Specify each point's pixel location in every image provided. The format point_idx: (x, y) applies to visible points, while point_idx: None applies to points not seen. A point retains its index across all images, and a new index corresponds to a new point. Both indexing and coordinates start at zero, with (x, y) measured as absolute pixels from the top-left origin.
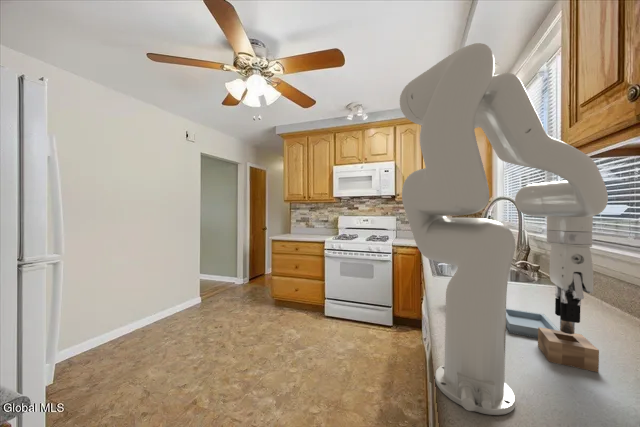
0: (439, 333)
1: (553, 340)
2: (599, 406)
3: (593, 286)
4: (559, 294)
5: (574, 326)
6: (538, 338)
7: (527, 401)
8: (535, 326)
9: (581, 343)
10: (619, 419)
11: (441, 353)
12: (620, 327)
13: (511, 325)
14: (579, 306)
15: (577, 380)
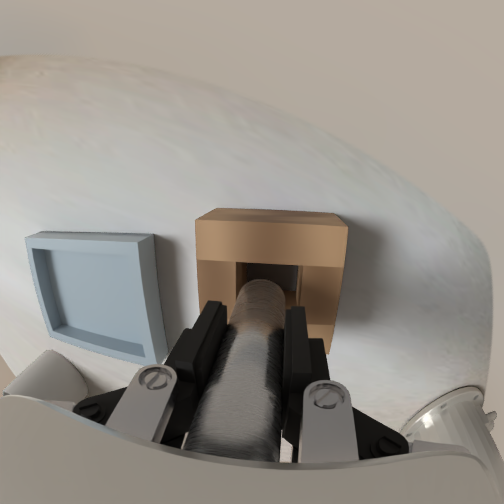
0: None
1: None
2: (468, 283)
3: (495, 498)
4: (185, 439)
5: (272, 297)
6: None
7: (462, 374)
8: (92, 276)
9: (305, 261)
10: (488, 268)
11: None
12: (16, 74)
13: (158, 362)
14: (309, 369)
15: (396, 286)
